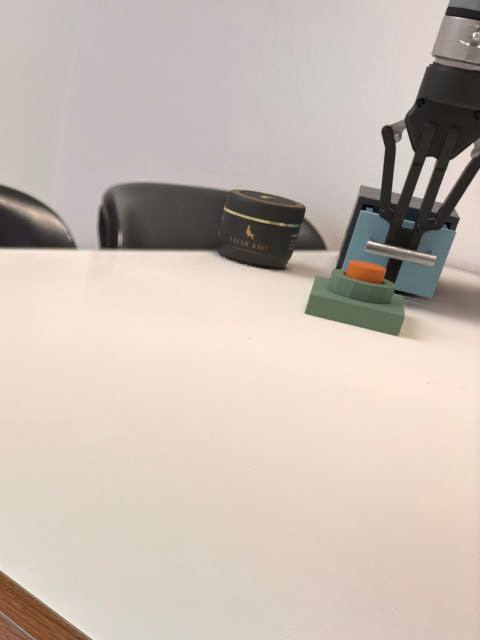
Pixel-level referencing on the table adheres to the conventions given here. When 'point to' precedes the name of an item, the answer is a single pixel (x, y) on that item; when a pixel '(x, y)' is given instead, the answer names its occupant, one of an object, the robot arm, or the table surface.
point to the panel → (357, 302)
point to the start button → (366, 272)
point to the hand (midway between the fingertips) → (386, 285)
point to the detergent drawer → (401, 251)
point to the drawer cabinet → (373, 198)
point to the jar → (259, 228)
